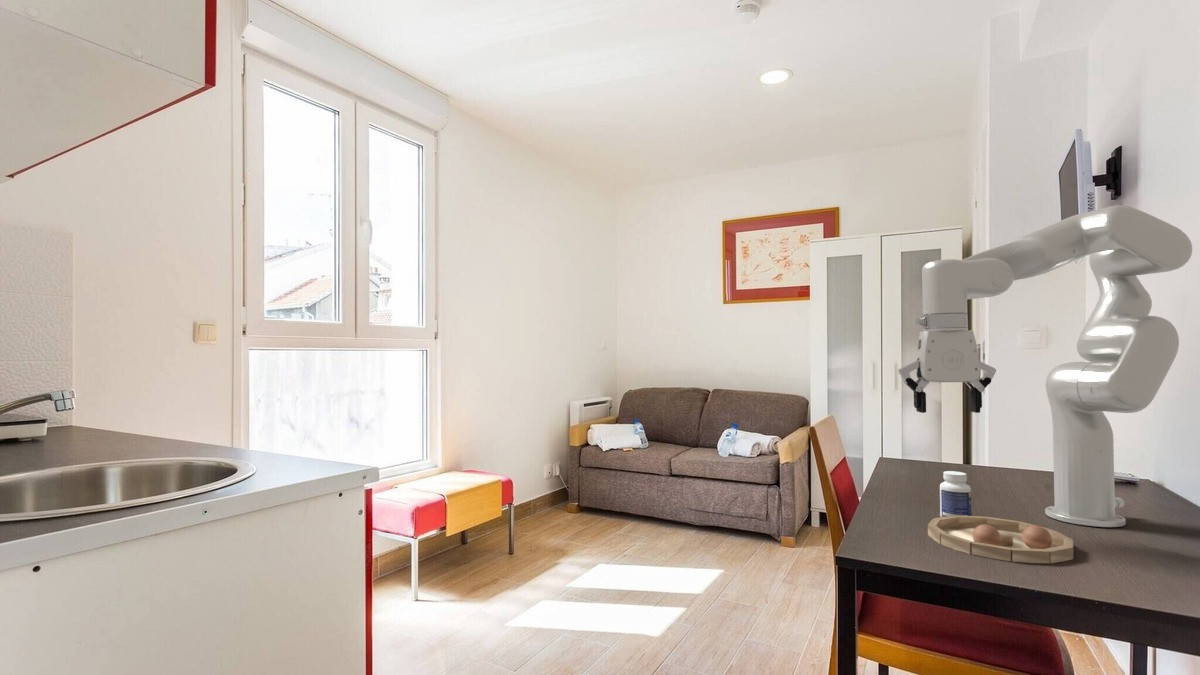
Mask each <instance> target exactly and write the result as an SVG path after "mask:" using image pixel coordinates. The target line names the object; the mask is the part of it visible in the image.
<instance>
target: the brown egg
mask: <svg viewBox="0 0 1200 675" xmlns="http://www.w3.org/2000/svg"><path fill="white" fill-rule="evenodd" d="M972 536H973V540H974V542H978V543H984V544H991V545H997V546H999V545H1000V543H1001V535H1000V533H999V532H998V530H997V529H995V528H994V527H992V526H990V525H986V524H983V525H979V526H977V527H976V528H975V529H974V530H973V534H972Z"/></svg>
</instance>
